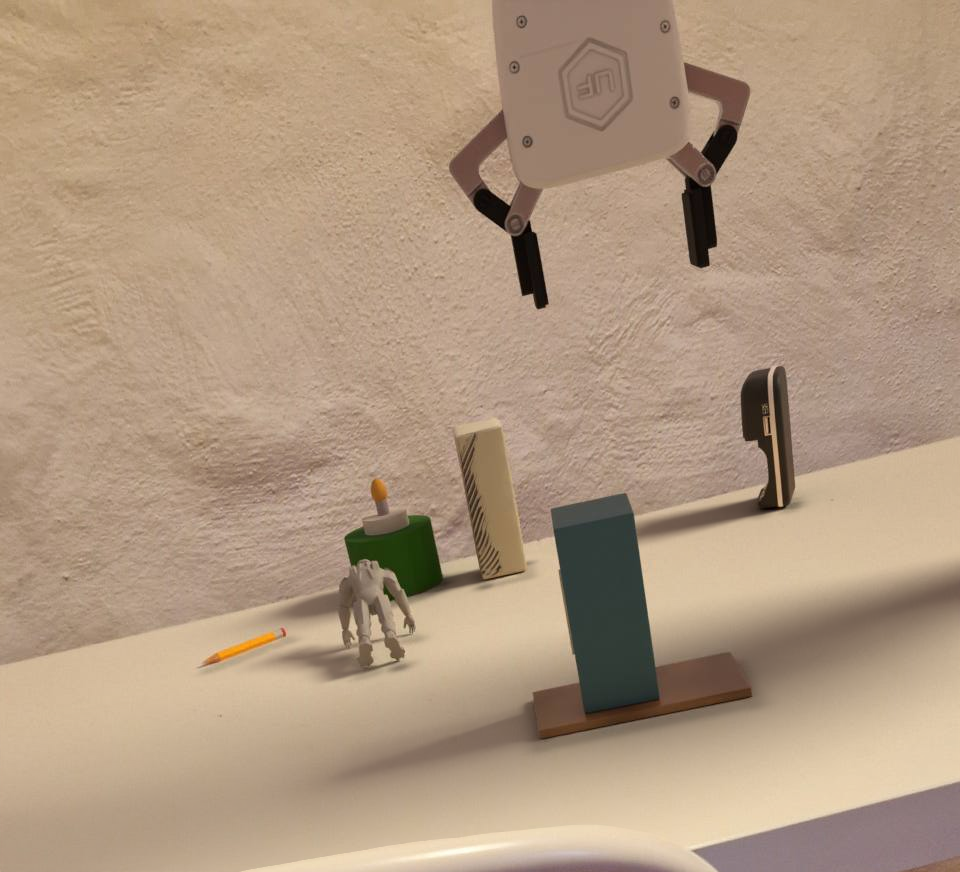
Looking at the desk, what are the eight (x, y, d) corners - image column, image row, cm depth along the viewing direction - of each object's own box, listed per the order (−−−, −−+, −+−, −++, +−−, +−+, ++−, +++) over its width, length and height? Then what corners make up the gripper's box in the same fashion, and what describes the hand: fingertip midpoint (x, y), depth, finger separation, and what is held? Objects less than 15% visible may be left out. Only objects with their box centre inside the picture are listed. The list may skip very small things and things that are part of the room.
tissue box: (626, 492, 90) (548, 508, 91) (633, 512, 85) (550, 529, 86) (651, 671, 97) (578, 685, 97) (660, 699, 92) (582, 714, 92)
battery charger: (756, 495, 135) (743, 368, 129) (796, 489, 134) (785, 360, 128) (748, 514, 130) (735, 382, 124) (790, 508, 128) (779, 374, 122)
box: (479, 568, 133) (450, 426, 126) (524, 558, 133) (497, 415, 126) (483, 582, 129) (453, 435, 122) (529, 571, 128) (503, 423, 122)
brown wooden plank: (731, 659, 97) (730, 650, 97) (752, 696, 90) (751, 687, 90) (533, 699, 99) (532, 691, 98) (539, 739, 92) (538, 730, 91)
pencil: (287, 636, 127) (285, 628, 127) (204, 668, 124) (201, 660, 123) (283, 635, 128) (281, 627, 127) (200, 666, 124) (198, 659, 124)
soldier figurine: (427, 680, 115) (409, 595, 122) (414, 626, 111) (396, 542, 118) (352, 697, 115) (339, 612, 123) (337, 644, 111) (324, 559, 118)
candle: (351, 590, 136) (324, 483, 131) (431, 567, 137) (408, 461, 132) (367, 607, 129) (340, 496, 124) (452, 583, 130) (428, 472, 125)
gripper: (409, -32, 72) (481, 328, 81) (741, -125, 71) (777, 253, 80) (411, -17, 79) (478, 316, 88) (716, -102, 77) (752, 246, 86)
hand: (620, 286), depth 84 cm, fingers open, 9 cm apart
